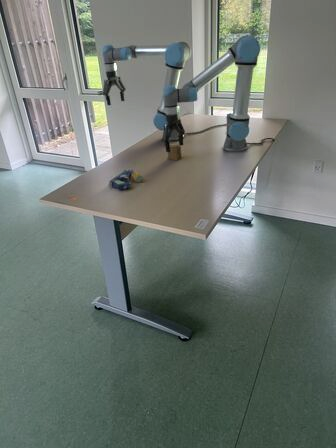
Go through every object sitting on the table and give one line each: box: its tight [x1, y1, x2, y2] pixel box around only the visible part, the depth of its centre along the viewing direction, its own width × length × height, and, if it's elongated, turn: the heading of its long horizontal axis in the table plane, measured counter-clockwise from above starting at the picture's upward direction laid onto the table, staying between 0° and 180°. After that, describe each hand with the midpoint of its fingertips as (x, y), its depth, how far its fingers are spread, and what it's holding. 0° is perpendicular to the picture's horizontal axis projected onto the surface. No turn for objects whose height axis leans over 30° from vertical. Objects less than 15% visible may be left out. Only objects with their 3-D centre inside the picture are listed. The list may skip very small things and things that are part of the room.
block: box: [167, 143, 182, 161], centre depth 210 cm, size 5×7×8 cm
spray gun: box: [108, 168, 143, 191], centre depth 184 cm, size 21×4×15 cm
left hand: (116, 103), depth 238 cm, fingers open, 13 cm apart
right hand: (174, 148), depth 209 cm, fingers open, 13 cm apart
